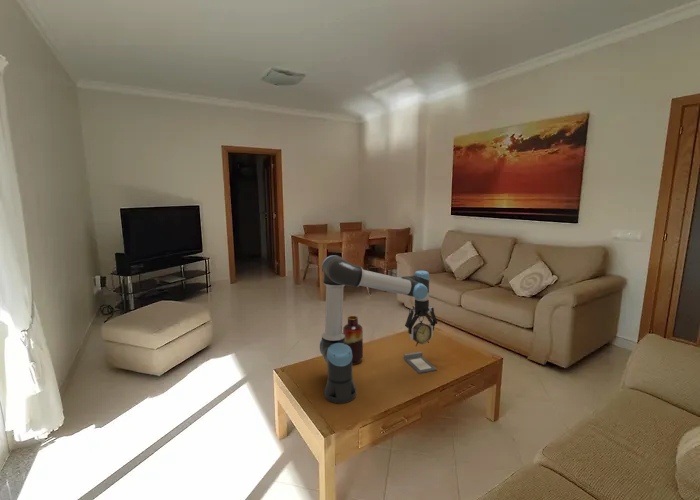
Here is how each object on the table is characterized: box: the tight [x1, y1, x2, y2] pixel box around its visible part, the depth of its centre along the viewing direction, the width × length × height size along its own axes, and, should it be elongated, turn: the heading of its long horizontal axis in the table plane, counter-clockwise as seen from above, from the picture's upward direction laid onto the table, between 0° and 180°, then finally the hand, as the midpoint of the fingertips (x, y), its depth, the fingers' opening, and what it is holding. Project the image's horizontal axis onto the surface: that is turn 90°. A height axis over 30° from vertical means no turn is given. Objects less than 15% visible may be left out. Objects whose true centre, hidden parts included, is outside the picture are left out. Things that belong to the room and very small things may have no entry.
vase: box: [342, 315, 364, 366], centre depth 192 cm, size 11×11×26 cm
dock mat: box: [403, 351, 438, 375], centre depth 189 cm, size 11×18×3 cm, turn 17°
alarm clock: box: [412, 316, 432, 347], centre depth 185 cm, size 11×5×16 cm, turn 117°
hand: (421, 337), depth 186 cm, fingers closed on alarm clock, 11 cm apart
